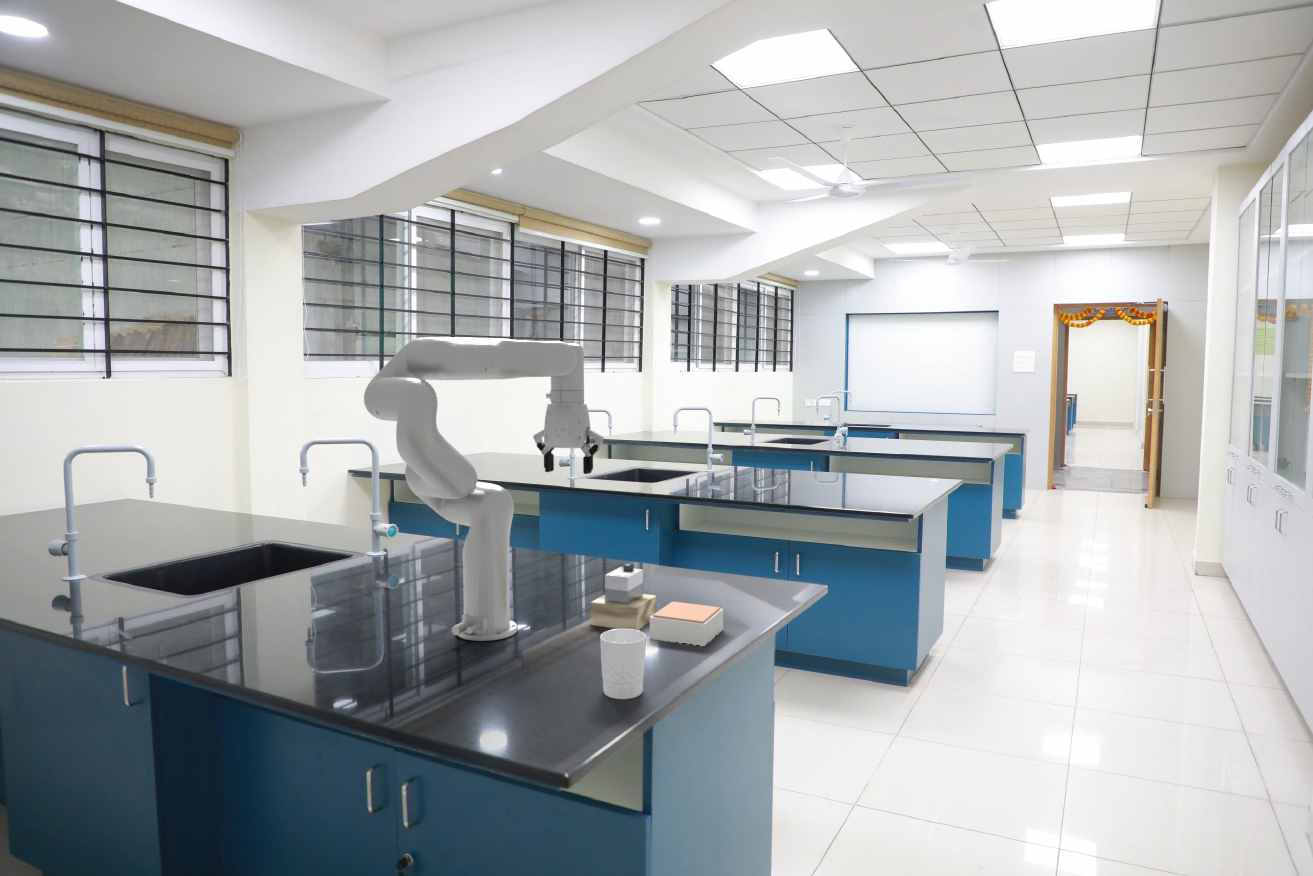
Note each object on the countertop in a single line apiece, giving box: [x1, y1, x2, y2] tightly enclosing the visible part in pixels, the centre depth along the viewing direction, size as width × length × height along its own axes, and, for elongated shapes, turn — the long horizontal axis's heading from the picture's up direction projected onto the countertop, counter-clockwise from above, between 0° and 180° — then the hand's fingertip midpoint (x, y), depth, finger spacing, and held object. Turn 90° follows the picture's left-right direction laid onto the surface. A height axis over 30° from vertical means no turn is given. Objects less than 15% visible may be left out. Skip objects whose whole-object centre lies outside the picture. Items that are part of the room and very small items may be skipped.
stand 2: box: [649, 600, 724, 647], centre depth 176 cm, size 12×12×5 cm
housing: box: [604, 562, 644, 605], centre depth 184 cm, size 8×6×7 cm
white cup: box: [599, 628, 647, 700], centre depth 144 cm, size 8×8×10 cm
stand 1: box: [589, 593, 658, 631], centre depth 184 cm, size 11×11×5 cm
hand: (568, 472), depth 192 cm, fingers open, 9 cm apart
